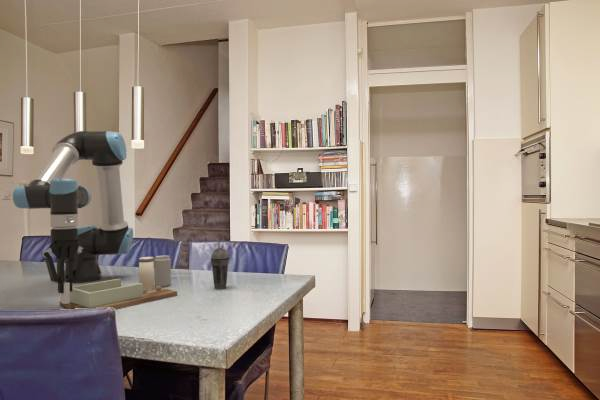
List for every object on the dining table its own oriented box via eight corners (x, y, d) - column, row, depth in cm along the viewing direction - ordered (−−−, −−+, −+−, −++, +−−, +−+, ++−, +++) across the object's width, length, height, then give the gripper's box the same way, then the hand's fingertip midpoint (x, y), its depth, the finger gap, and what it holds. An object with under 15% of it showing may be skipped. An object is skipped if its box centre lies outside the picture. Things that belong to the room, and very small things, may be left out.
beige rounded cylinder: (136, 290, 156) (136, 258, 156) (148, 288, 160) (148, 256, 160) (144, 292, 153) (144, 259, 153) (156, 290, 157) (156, 257, 157)
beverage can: (166, 287, 169) (165, 257, 169) (151, 287, 170) (150, 257, 170) (173, 284, 175) (173, 255, 175) (159, 283, 176) (159, 254, 176)
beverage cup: (233, 286, 170) (232, 236, 170) (223, 290, 163) (223, 238, 163) (216, 285, 172) (216, 235, 172) (207, 289, 166) (206, 237, 165)
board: (59, 305, 142) (59, 296, 142) (145, 288, 168) (145, 280, 168) (89, 315, 130) (89, 305, 130) (177, 295, 155) (177, 287, 155)
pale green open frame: (66, 300, 142) (66, 287, 142) (119, 290, 156) (119, 278, 156) (89, 307, 132) (88, 293, 132) (143, 296, 147) (142, 283, 147)
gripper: (47, 229, 126) (48, 309, 127) (91, 227, 137) (91, 300, 137) (36, 228, 131) (37, 305, 131) (79, 226, 141) (80, 297, 142)
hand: (65, 302), depth 134 cm, fingers closed
